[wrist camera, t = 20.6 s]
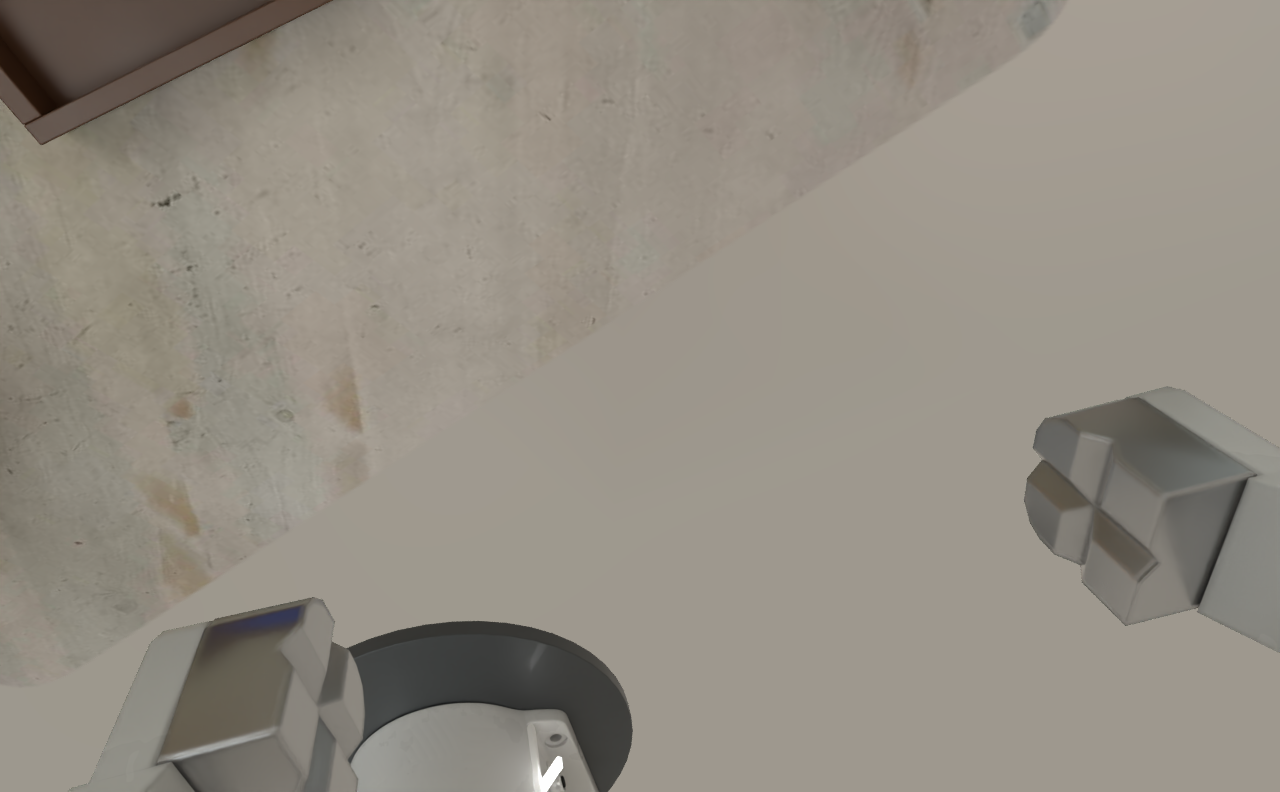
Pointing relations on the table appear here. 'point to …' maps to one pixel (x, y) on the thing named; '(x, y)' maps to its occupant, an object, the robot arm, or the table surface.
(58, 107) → the walnut tray
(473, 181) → the table surface
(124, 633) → the table surface
